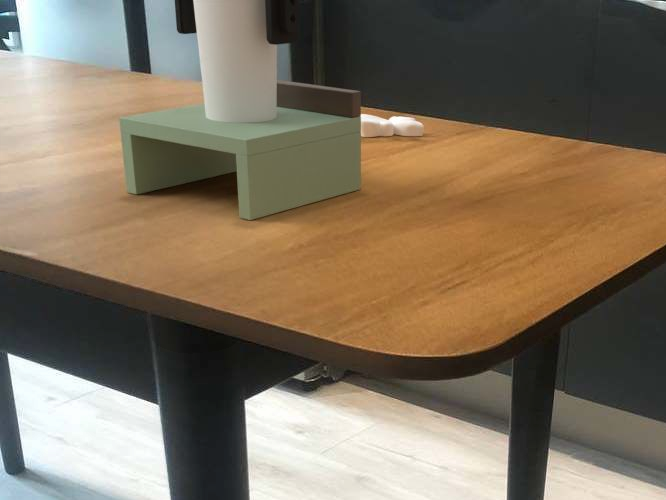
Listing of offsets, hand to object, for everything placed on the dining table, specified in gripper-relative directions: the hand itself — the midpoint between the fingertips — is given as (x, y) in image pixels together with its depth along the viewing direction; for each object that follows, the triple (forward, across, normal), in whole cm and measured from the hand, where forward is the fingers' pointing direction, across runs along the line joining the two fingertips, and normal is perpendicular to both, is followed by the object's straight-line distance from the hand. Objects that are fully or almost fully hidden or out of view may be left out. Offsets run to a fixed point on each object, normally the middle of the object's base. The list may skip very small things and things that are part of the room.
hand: (237, 37), depth 86 cm
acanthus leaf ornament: (+12, -8, +30) cm, 33 cm away
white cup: (+6, 0, 0) cm, 6 cm away
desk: (+12, 0, 0) cm, 12 cm away
